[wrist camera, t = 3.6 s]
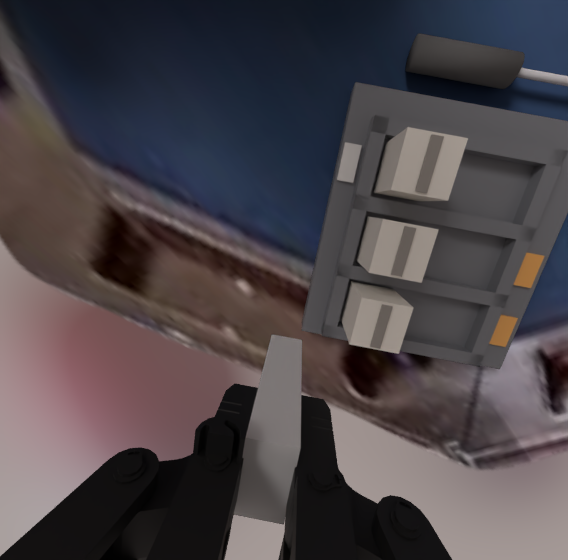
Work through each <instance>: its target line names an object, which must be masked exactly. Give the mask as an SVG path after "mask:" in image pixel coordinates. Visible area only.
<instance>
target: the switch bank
mask: <svg viewBox="0 0 568 560" xmlns="http://www.w3.org/2000/svg"><path fill="white" fill-rule="evenodd" d="M407 127H410V128H416V129H421V130H427V131H432V132H437V133H443V134H448V135H454V136H459V137H464V138H468V140H467V143H466V147H465V150H464V153H463V156H462V159H461V162H460V165H459V168H458V171H457V175H456V178H455V181H454V184H453V187H452V190H451V193H450V196H449V199H448V201H422V202H419V201H414V200H408V199H403V198H398V197H392V196H387V195H382V194H377V193H374V189H375V185H376V181H377V177H378V173H379V169H380V165H381V161H382V157H383V153H384V150H385V146H386V143H387V142H388V141H390V140H391V139H392V138H394V137H395V136H396V135H398V134H399V133H400V132H402V131H403V130H404V129H406V128H407ZM567 213H568V121H564V120H558V119H553V118H547V117H542V116H536V115H531V114H526V113H520V112H515V111H509V110H504V109H498V108H493V107H488V106H482V105H477V104H471V103H466V102H460V101H455V100H450V99H444V98H439V97H433V96H428V95H422V94H417V93H412V92H406V91H401V90H395V89H390V88H384V87H379V86H374V85H368V84H363V83H357V82H355V85H354V87H353V89H352V92H351V96H350V101H349V105H348V110H347V114H346V119H345V124H344V128H343V133H342V138H341V142H340V147H339V152H338V156H337V161H336V166H335V170H334V175H333V179H332V184H331V189H330V193H329V198H328V203H327V207H326V212H325V217H324V221H323V226H322V231H321V235H320V240H319V244H318V249H317V254H316V258H315V263H314V268H313V272H312V277H311V282H310V286H309V291H308V296H307V300H306V305H305V309H304V314H303V319H302V331H307V332H312V333H317V334H322V336H325V337H330V338H336V339H341V340H346V341H348V339H347V336H346V333H345V330H344V327H343V324H342V321H341V319H342V315H343V311H344V307H345V303H346V299H347V295H348V291H349V287H350V283H351V281H354V282H359V283H364V284H369V285H374V286H380V287H385V288H390V289H394V290H395V291H396V292H397V293H398V294H399V295H400V296H401V297H402V298H404V299H405V300H406V301H407V302H408V303H409V304H410V305H411V306H412V307H413V311H412V314H411V317H410V320H409V324H408V327H407V330H406V333H405V336H404V339H403V342H402V345H401V348H400V351H402V352H407V353H412V354H418V355H423V356H428V357H433V358H438V359H443V360H448V361H453V362H459V363H464V364H469V365H474V366H479V367H480V365H481V366H486V367H491V368H496V369H500V368H501V366H502V363H503V361H504V359H505V356H506V354H507V352H508V349H509V347H510V345H511V342H512V340H513V338H514V335H515V333H516V331H517V329H518V326H519V324H520V322H521V319H522V317H523V315H524V312H525V310H526V308H527V305H528V303H529V301H530V299H531V296H532V294H533V292H534V289H535V287H536V285H537V282H538V280H539V278H540V275H541V273H542V271H543V268H544V266H545V264H546V262H547V259H548V257H549V255H550V252H551V250H552V248H553V245H554V243H555V241H556V238H557V236H558V234H559V231H560V229H561V227H562V225H563V222H564V220H565V218H566V215H567ZM367 216H369V217H375V218H381V219H386V220H392V221H397V222H402V223H407V224H413V225H418V226H423V227H429V228H434V229H439V230H438V234H437V237H436V240H435V243H434V246H433V249H432V252H431V255H430V258H429V261H428V265H427V268H426V271H425V274H424V277H423V280H422V283H420V282H415V281H409V280H404V279H399V278H394V277H388V276H383V275H378V274H373V273H369V272H368V271H367V270H366V269H365V268H364V267H363V266H362V265H361V264H360V263H359V262H358V261H357V256H358V252H359V248H360V244H361V240H362V236H363V232H364V228H365V224H366V220H367Z"/></svg>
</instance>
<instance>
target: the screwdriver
mask: <svg viewBox="0 0 568 560" xmlns="http://www.w3.org/2000/svg"><path fill="white" fill-rule="evenodd" d="M523 62H524V53H523V52H519V51H513V50H508V49H502V48H497V47H491V46H486V45H480V44H475V43H469V42H464V41H458V40H453V39H447V38H442V37H436V36H431V35H425V34H420V33H419V34H418V35H417V36H416V38H415V40H414V42H413V44H412V46H411V49H410V52H409V55H408V58H407V62H406V68H405V70H406V72H412V73H417V74H423V75H428V76H434V77H439V78H445V79H450V80H455V81H461V82H466V83H472V84H477V85H483V86H488V87H494V88H499V89H505V88H507V87H508V86H509V85H510V84H511V83H512V82H513V81H514V80H515V78H516V77H519V78H524V79H530V80H535V81H541V82H546V83H551V84H557V85H562V86H568V76H563V75H558V74H552V73H547V72H541V71H536V70H530V69H525V68H521V67H522V65H523Z"/></svg>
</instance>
